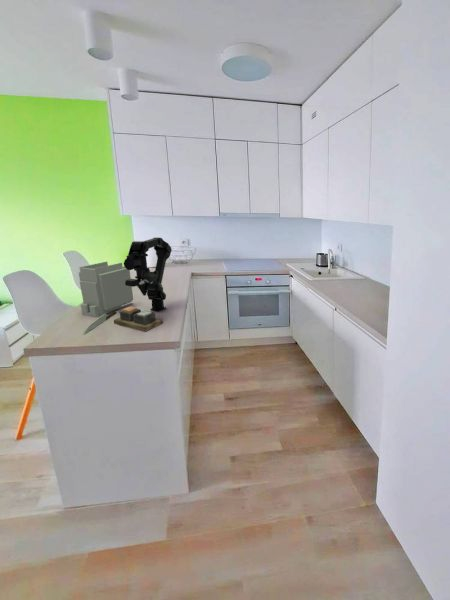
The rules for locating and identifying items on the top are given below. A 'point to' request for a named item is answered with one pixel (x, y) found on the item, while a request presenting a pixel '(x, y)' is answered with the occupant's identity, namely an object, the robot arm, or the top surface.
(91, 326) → the kitchen knife
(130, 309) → the terracotta button
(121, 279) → the toaster
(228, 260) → the top surface
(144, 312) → the grey button
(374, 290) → the top surface
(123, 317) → the button board
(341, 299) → the top surface
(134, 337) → the top surface
